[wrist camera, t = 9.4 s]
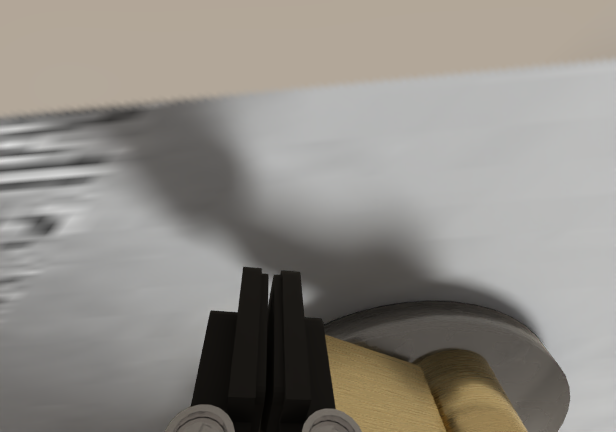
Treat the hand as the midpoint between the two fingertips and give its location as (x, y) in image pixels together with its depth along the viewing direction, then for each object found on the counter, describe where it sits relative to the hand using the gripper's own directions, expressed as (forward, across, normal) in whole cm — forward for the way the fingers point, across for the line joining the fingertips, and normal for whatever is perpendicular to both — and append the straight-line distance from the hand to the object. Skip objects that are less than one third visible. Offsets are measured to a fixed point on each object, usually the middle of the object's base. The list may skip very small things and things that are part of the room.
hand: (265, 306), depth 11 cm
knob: (+1, -6, +3) cm, 7 cm away
